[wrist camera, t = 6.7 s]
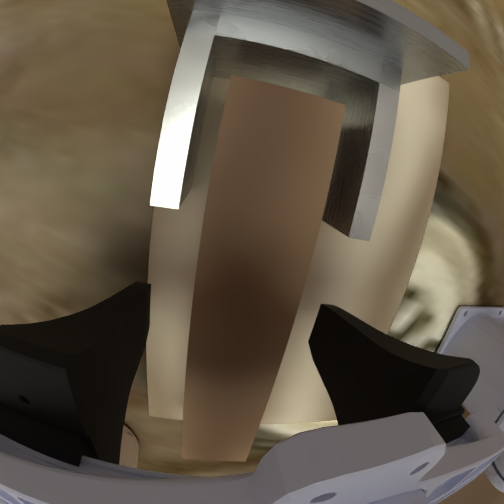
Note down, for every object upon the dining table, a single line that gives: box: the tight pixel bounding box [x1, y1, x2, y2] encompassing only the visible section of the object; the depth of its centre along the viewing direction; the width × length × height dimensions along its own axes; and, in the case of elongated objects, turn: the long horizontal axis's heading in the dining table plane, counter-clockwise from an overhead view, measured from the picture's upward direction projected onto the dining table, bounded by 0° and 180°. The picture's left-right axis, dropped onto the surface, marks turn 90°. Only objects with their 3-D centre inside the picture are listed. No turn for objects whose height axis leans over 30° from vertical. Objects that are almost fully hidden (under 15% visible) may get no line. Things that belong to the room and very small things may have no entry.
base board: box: [146, 76, 449, 424], centre depth 14 cm, size 14×24×1 cm, turn 169°
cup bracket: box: [150, 0, 470, 241], centre depth 8 cm, size 8×6×7 cm
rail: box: [181, 76, 345, 461], centre depth 12 cm, size 4×17×4 cm, turn 169°
